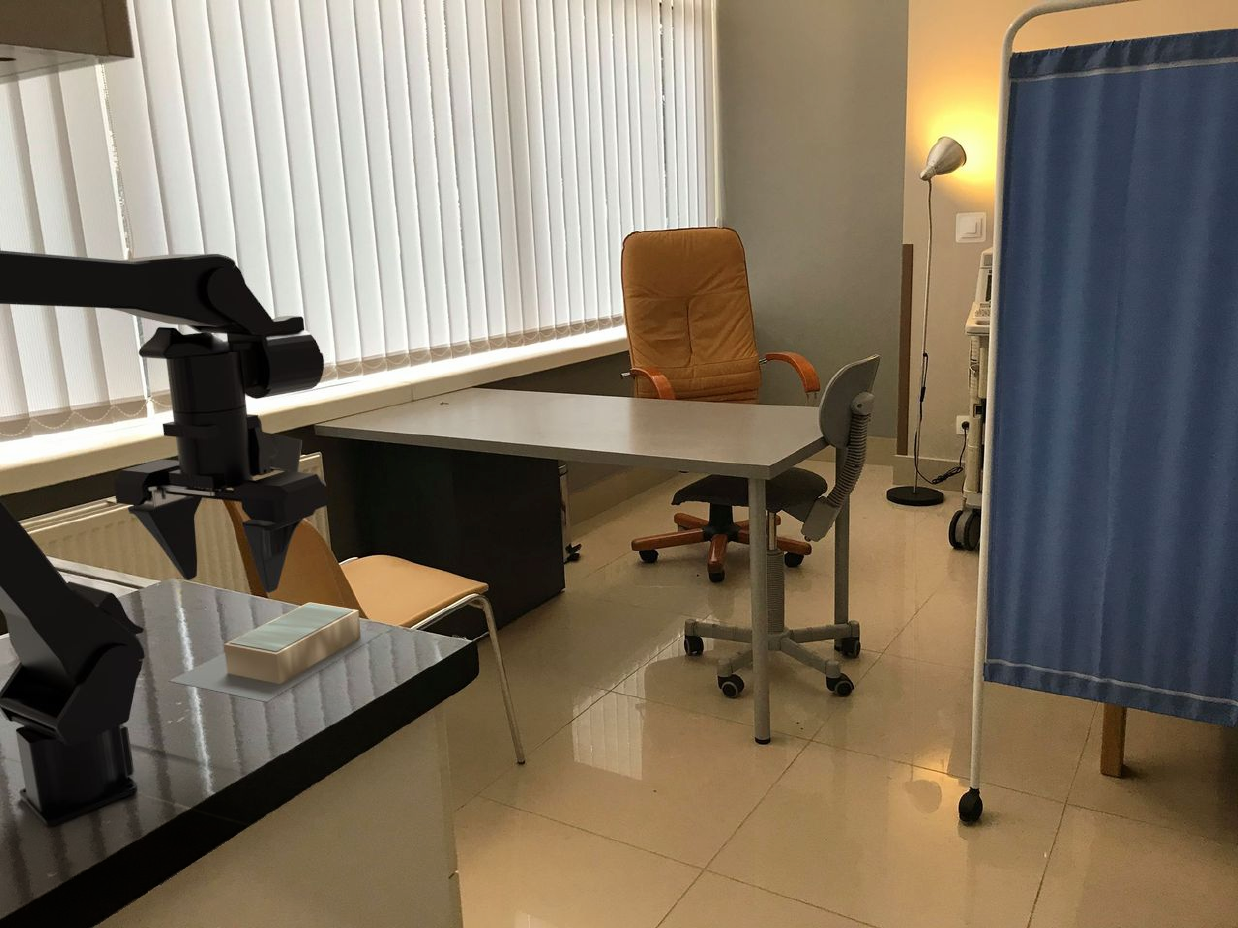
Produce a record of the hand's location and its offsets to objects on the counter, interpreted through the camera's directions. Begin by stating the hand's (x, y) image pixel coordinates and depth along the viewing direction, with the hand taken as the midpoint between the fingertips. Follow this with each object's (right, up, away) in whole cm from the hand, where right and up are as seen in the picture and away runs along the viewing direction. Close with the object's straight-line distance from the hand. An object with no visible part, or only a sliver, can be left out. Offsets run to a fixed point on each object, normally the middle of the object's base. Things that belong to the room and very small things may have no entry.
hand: (230, 584), depth 87 cm
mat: (0, -9, +14) cm, 16 cm away
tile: (-1, -9, +8) cm, 12 cm away
